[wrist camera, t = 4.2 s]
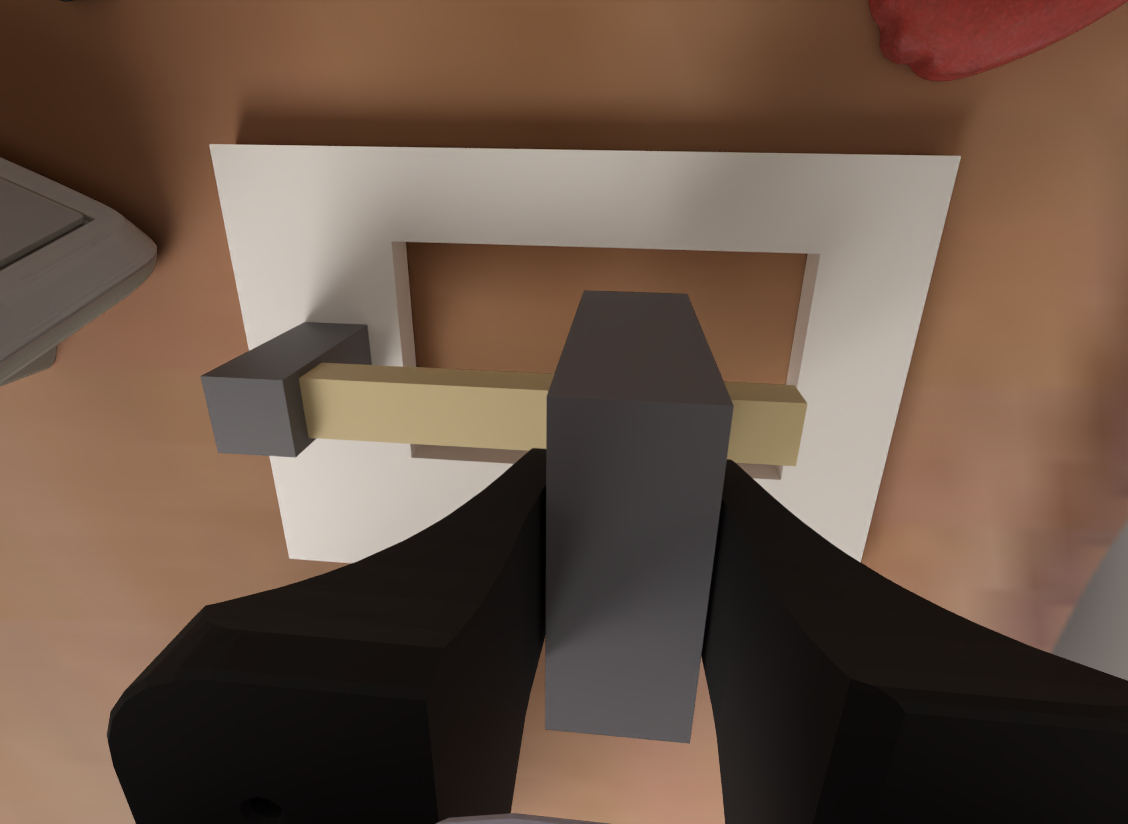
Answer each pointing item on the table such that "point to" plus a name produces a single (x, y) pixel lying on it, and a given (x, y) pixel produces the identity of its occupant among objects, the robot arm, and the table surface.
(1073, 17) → the stacking bear
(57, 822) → the table surface
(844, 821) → the robot arm
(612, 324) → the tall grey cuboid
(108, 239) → the digital clock
